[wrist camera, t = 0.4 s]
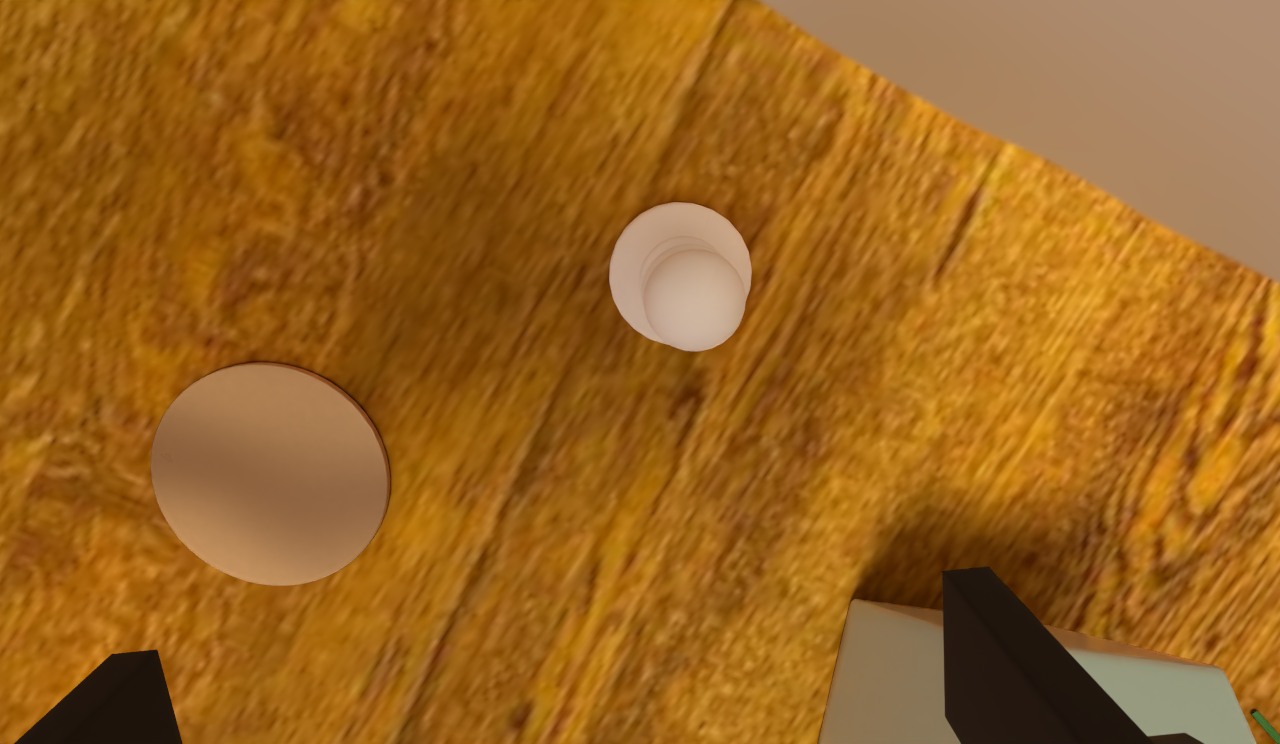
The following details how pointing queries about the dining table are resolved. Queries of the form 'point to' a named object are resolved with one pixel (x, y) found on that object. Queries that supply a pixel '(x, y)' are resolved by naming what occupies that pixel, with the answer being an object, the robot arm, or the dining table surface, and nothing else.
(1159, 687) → the pale green boxy piece
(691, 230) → the chess pawn
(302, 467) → the cork coaster
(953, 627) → the robot arm
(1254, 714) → the lily
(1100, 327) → the dining table surface
